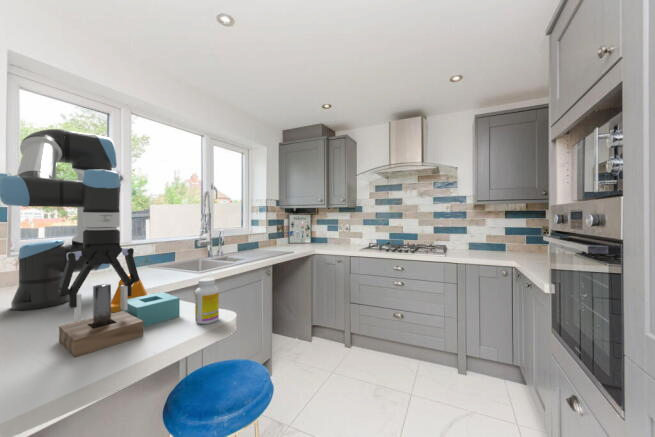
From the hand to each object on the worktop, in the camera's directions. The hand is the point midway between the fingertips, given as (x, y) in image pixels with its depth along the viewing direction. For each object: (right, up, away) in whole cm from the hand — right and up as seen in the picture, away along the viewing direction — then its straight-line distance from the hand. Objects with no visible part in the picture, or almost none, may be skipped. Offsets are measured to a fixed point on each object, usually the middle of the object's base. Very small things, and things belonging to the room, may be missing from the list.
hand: (102, 314), depth 72 cm
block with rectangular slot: (+3, -6, +15) cm, 17 cm away
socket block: (0, -6, 0) cm, 6 cm away
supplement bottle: (+22, -7, +12) cm, 26 cm away
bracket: (-10, -7, +23) cm, 26 cm away
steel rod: (0, -6, 0) cm, 6 cm away
